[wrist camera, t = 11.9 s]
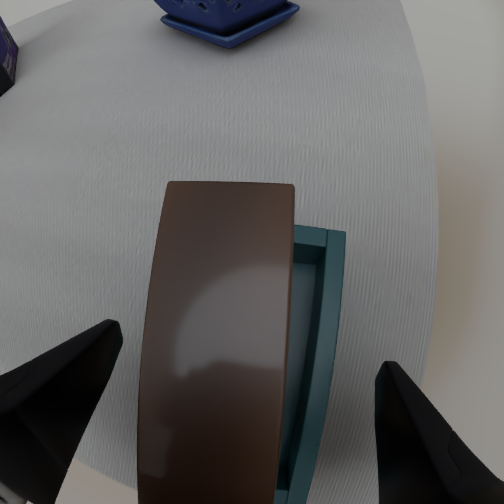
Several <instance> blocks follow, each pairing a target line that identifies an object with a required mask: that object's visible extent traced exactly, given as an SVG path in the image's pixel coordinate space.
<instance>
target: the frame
mask: <svg viewBox="0 0 504 504" xmlns="http://www.w3.org/2000/svg"><path fill="white" fill-rule="evenodd" d="M294 208H295V187H294V185H292V184H280V183H257V182H219V181H170V182H168V183H167V188H166V193H165V197H164V202H163V207H162V212H161V217H160V223H159V228H158V234H157V239H156V245H155V251H154V257H153V264H152V270H151V277H150V284H149V291H148V299H147V307H146V315H145V324H144V333H143V343H142V354H141V366H140V381H139V398H138V423H137V485H138V504H274V499H275V491H276V483H277V474H278V465H279V456H280V446H281V436H282V425H283V414H284V402H285V390H286V377H287V363H288V349H289V333H290V315H291V296H292V273H293V246H294Z"/></svg>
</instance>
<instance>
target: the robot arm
mask: <svg viewBox="0 0 504 504" xmlns="http://www.w3.org/2000/svg"><path fill="white" fill-rule="evenodd" d="M122 344H123V336H122V332H121V328H120V324H119V322H118V321H115V320H111V319H106V320H104V321H103V322H101V323H99V324H97V325H95V326H93V327H91V328H90V329H88V330H86V331H84V332H82V333H80V334H78V335H77V336H75V337H73V338H71V339H69V340H67V341H65V342H64V343H62V344H60V345H58V346H56V347H54V348H53V349H51V350H49V351H47V352H45V353H43V354H42V355H40V356H38V357H36V358H34V359H32V361H29V362H27V363H25V364H23V365H21V366H19V367H17V368H15V369H13V370H11V371H9V372H7V373H5V374H3V375H0V504H26V502H27V500H28V501H30V502H31V503H33V504H55V501H56V498H57V496H58V493H59V491H60V488H61V486H62V483H63V481H64V478H65V476H66V473H67V471H68V470H67V469H68V468H69V466H70V463H71V461H72V459H73V456H74V454H75V452H76V450H77V447H78V445H79V443H80V440H81V438H82V436H83V434H84V432H85V429H86V427H87V425H88V423H89V421H90V419H91V416H92V414H93V412H94V410H95V408H96V406H97V404H98V402H99V400H100V397H101V395H102V393H103V391H104V389H105V387H106V385H107V383H108V381H109V379H110V376H111V374H112V371H113V368H114V366H115V363H116V360H117V357H118V355H119V352H120V350H121V347H122ZM375 434H376V447H377V462H378V483H379V504H504V482H503V481H502V480H500V479H499V478H497V477H496V476H495V475H494V474H493V473H492V472H491V471H490V470H489V469H488V468H487V467H486V466H485V465H484V464H483V463H482V462H481V461H480V460H479V459H478V458H477V457H476V456H475V455H474V453H472V451H471V450H470V449H469V448H468V447H467V446H466V445H465V443H464V442H463V441H462V440H461V439H460V438H459V437H458V435H457V434H456V433H455V432H454V431H452V428H451V426H450V425H449V424H448V423H447V422H446V420H445V419H444V418H443V417H442V415H441V414H440V413H439V412H438V411H437V409H436V408H435V407H434V406H433V404H432V403H431V402H430V401H429V400H428V398H427V397H426V396H425V395H424V394H423V392H422V391H421V390H420V389H419V388H418V387H417V385H416V384H415V383H414V382H413V381H412V379H411V378H410V377H409V376H408V375H407V374H406V372H405V371H404V370H403V369H402V368H401V366H400V365H399V364H398V363H397V362H395V361H384V362H383V364H382V366H381V368H380V370H379V372H378V374H377V376H376V379H375Z"/></svg>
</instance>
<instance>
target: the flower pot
mask: <svg viewBox="0 0 504 504" xmlns="http://www.w3.org/2000/svg"><path fill="white" fill-rule="evenodd" d="M154 1H155V2H156V3H157V4H158V5H159V6H160V7H161V8H162V9H163V10H164V11H165V12H167V13H168V14H167V15H165V16H163V17H161V19H160V20H161V21H162V22H163V23H164V24H166V25H167V26H169V27H172V28H174V29H177V30H180V31H183V32H185V33H188V34H191V35H194V36H196V37H199V38H201V39H204V40H207V41H209V42H212V43H214V44H217V45H219V46H222V47H225V48H232V47H234V46H236V45H238V44H240V43H242V42H244V41H245V40H247V39H249V38H251V37H253V36H255V35H257V34H259V33H261V32H263V31H265V30H267V29H269V28H271V27H273V26H275V25H276V24H278V23H280V22H283V21H284V20H286V19H288V18H290V17H291V16H293V15H294V14H295V13H296V12H297V11H298V10H299V8H300V7H299V5H297V4H294V3H292V2H289V1H287V0H154Z"/></svg>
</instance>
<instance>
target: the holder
mask: <svg viewBox="0 0 504 504" xmlns="http://www.w3.org/2000/svg"><path fill="white" fill-rule="evenodd" d="M345 242H346V232H344V231H337V230H327V229H324V228H317V227H309V226H302V225H294V246H293V273H292V296H291V315H290V333H289V349H288V363H287V377H286V390H285V402H284V414H283V425H282V436H281V446H280V456H279V465H278V474H277V483H276V491H275V499H274V504H306V501H307V497H308V493H309V489H310V485H311V481H312V477H313V473H314V469H315V464H316V460H317V455H318V451H319V446H320V441H321V436H322V431H323V426H324V421H325V415H326V410H327V404H328V398H329V392H330V386H331V379H332V373H333V366H334V359H335V351H336V343H337V335H338V327H339V317H340V308H341V297H342V286H343V273H344V259H345Z"/></svg>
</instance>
